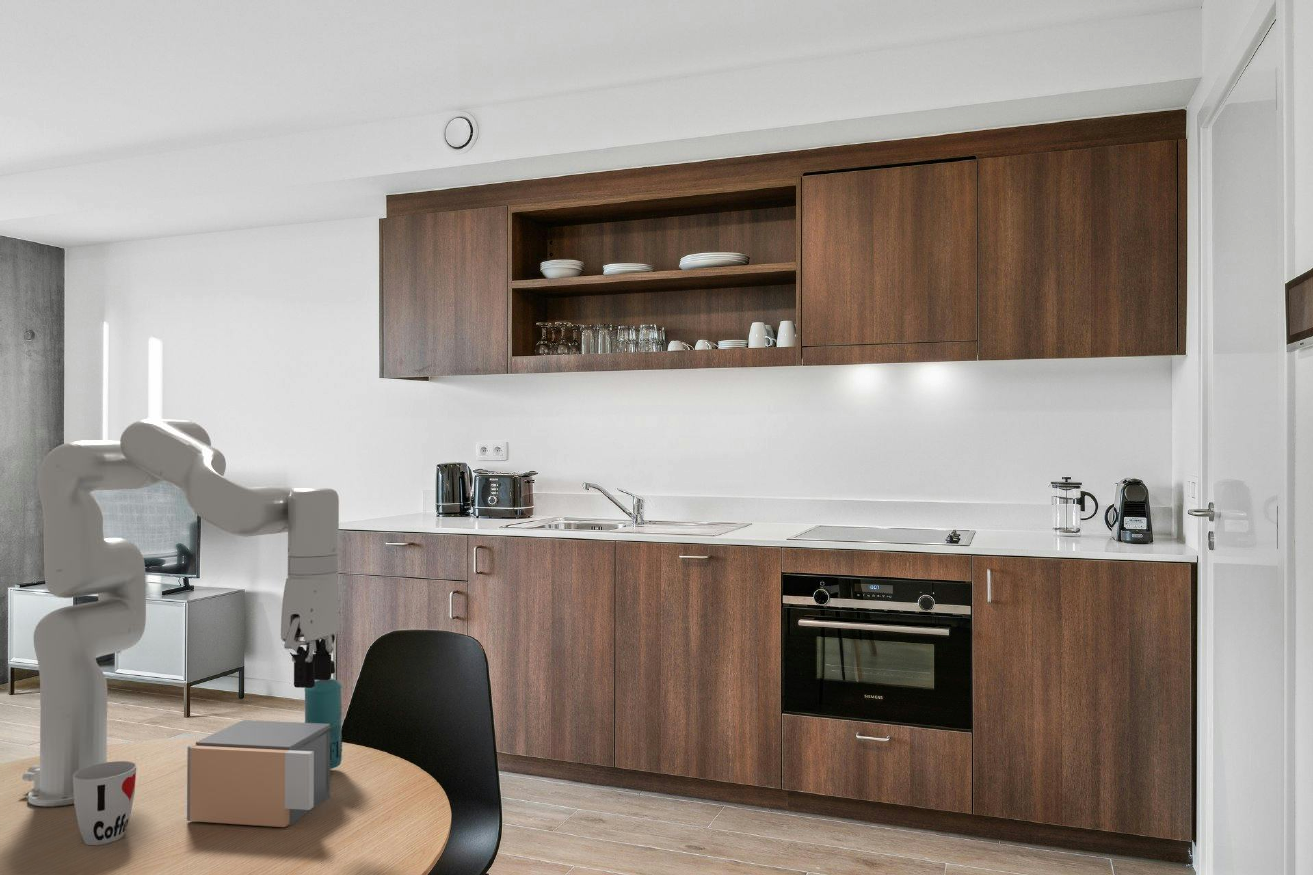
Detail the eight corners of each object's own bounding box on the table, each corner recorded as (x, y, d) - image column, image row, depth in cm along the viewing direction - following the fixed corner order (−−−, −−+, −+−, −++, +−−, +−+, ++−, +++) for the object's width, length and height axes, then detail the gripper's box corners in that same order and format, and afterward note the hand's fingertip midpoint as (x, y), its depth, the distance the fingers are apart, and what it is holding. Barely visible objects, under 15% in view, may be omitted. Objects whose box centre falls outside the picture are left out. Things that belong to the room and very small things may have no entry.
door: (185, 820, 137) (185, 747, 137) (190, 817, 138) (190, 745, 138) (309, 828, 134) (309, 753, 134) (313, 825, 135) (313, 751, 135)
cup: (89, 854, 126) (89, 783, 126) (61, 841, 130) (61, 773, 131) (146, 833, 133) (147, 766, 133) (118, 822, 137) (119, 757, 138)
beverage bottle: (329, 780, 155) (329, 666, 155) (295, 778, 156) (295, 664, 156) (349, 768, 161) (349, 657, 162) (316, 765, 162) (317, 656, 163)
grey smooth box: (195, 819, 138) (195, 742, 139) (242, 790, 150) (243, 719, 150) (289, 825, 136) (289, 746, 136) (330, 796, 148) (330, 723, 148)
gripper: (319, 560, 148) (319, 670, 148) (259, 572, 131) (258, 696, 131) (361, 560, 147) (361, 671, 146) (306, 573, 130) (305, 698, 130)
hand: (312, 681), depth 139 cm, fingers open, 4 cm apart
